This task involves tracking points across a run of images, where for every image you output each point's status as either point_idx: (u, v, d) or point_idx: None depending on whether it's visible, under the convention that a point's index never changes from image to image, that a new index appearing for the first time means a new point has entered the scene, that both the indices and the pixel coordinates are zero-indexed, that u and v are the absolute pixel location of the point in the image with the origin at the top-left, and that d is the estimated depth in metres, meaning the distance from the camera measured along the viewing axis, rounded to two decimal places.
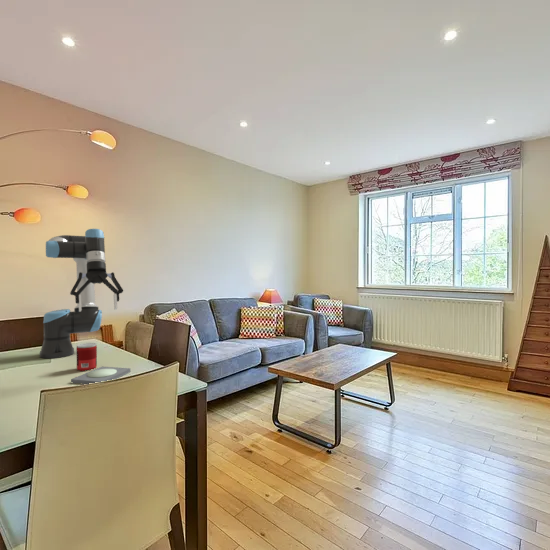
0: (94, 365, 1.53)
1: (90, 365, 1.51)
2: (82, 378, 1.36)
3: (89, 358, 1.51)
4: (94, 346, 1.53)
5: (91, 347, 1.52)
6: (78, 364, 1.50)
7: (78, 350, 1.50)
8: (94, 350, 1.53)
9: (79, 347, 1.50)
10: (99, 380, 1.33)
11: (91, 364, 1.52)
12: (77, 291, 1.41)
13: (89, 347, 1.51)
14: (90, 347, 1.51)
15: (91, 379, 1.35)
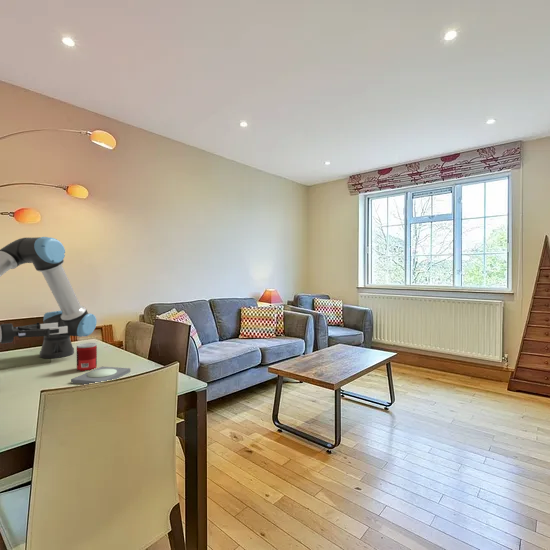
0: (94, 365, 1.53)
1: (90, 365, 1.51)
2: (82, 378, 1.36)
3: (89, 358, 1.51)
4: (94, 346, 1.53)
5: (91, 347, 1.52)
6: (78, 364, 1.50)
7: (78, 350, 1.50)
8: (94, 350, 1.53)
9: (79, 347, 1.50)
10: (99, 380, 1.33)
11: (91, 364, 1.52)
12: None
13: (89, 347, 1.51)
14: (90, 347, 1.51)
15: (91, 379, 1.35)
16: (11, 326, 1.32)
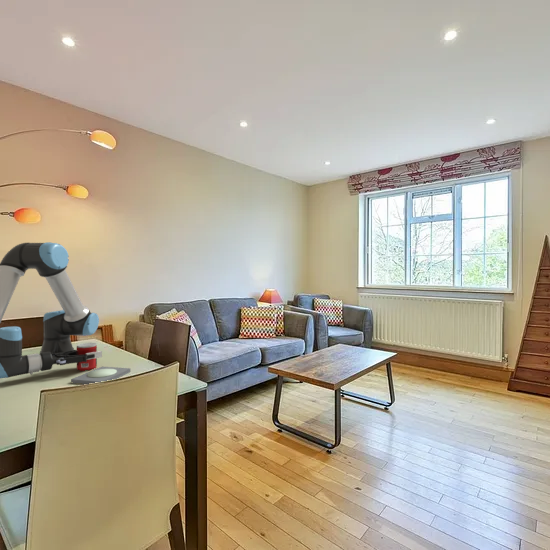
0: (94, 365, 1.53)
1: (90, 365, 1.51)
2: (82, 378, 1.36)
3: None
4: (94, 346, 1.53)
5: (91, 347, 1.52)
6: (78, 364, 1.50)
7: (78, 350, 1.50)
8: (94, 350, 1.53)
9: (79, 347, 1.50)
10: (99, 380, 1.33)
11: (91, 364, 1.52)
12: None
13: (89, 347, 1.51)
14: (90, 347, 1.51)
15: (91, 379, 1.35)
16: (50, 354, 1.41)
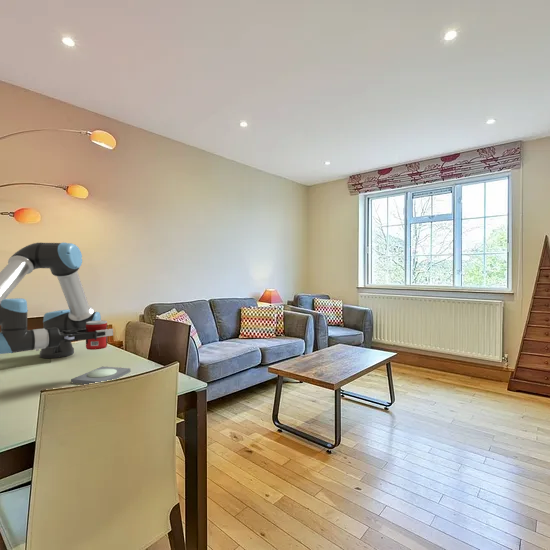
0: (104, 344, 1.42)
1: (100, 343, 1.40)
2: (82, 378, 1.36)
3: None
4: (104, 323, 1.42)
5: (101, 324, 1.40)
6: (87, 342, 1.39)
7: (87, 327, 1.39)
8: (104, 328, 1.42)
9: (88, 324, 1.39)
10: (99, 380, 1.33)
11: (101, 342, 1.41)
12: None
13: (99, 324, 1.40)
14: (100, 324, 1.40)
15: (91, 379, 1.35)
16: (57, 330, 1.30)
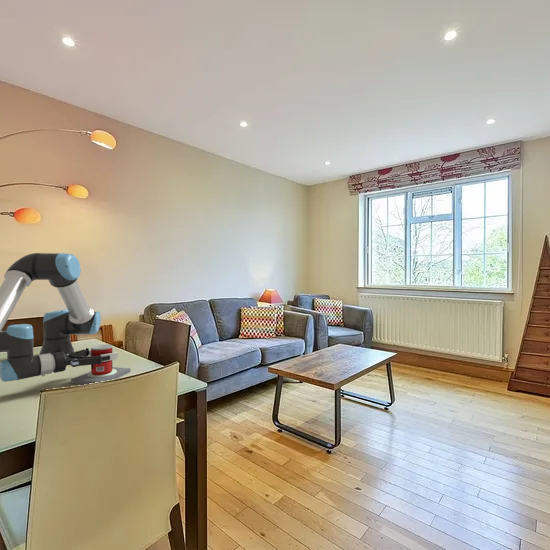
0: (110, 369, 1.41)
1: (106, 368, 1.40)
2: (82, 378, 1.36)
3: (105, 362, 1.39)
4: (110, 348, 1.41)
5: (107, 349, 1.40)
6: (92, 367, 1.38)
7: (93, 352, 1.38)
8: (110, 352, 1.41)
9: (94, 349, 1.38)
10: (99, 380, 1.33)
11: (107, 368, 1.40)
12: None
13: (105, 349, 1.39)
14: (106, 349, 1.39)
15: (91, 379, 1.35)
16: (63, 355, 1.29)
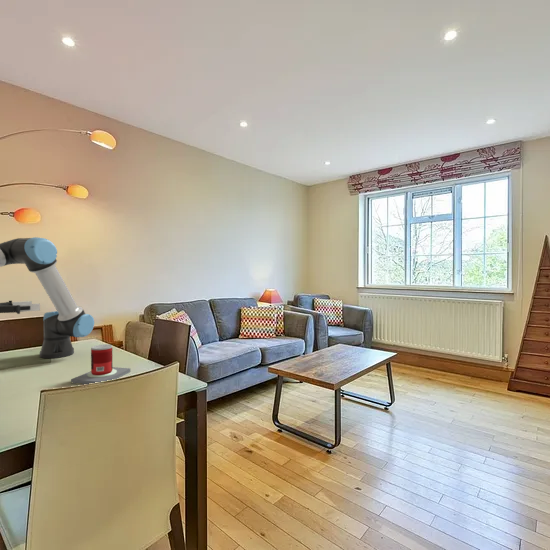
0: (110, 369, 1.41)
1: (106, 368, 1.40)
2: (82, 378, 1.36)
3: (105, 362, 1.39)
4: (110, 348, 1.41)
5: (107, 349, 1.40)
6: (92, 367, 1.38)
7: (93, 352, 1.38)
8: (110, 352, 1.41)
9: (94, 349, 1.38)
10: (99, 380, 1.33)
11: (107, 368, 1.40)
12: None
13: (105, 349, 1.39)
14: (106, 349, 1.39)
15: (91, 379, 1.35)
16: None
